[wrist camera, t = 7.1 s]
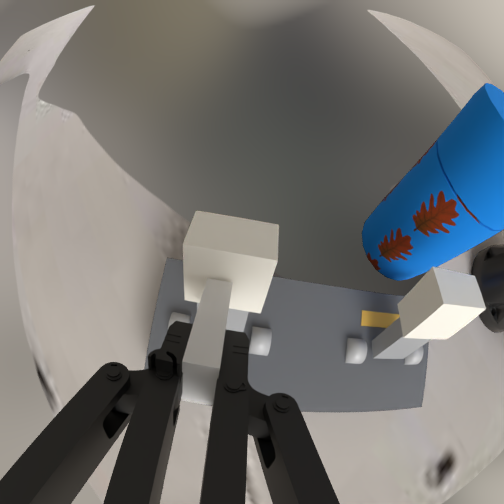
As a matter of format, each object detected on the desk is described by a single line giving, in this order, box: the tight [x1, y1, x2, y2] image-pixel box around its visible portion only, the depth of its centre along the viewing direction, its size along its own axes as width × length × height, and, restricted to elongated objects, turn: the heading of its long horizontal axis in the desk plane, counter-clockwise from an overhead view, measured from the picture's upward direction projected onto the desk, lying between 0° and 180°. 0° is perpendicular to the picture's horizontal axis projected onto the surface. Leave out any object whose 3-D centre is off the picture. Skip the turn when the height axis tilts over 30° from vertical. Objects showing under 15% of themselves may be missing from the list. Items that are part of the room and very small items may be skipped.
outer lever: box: [183, 211, 279, 332], centre depth 19 cm, size 5×3×11 cm, turn 81°
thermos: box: [362, 83, 504, 281], centre depth 24 cm, size 11×11×25 cm
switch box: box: [144, 258, 429, 412], centre depth 26 cm, size 28×12×7 cm, turn 81°
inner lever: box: [372, 267, 486, 359], centre depth 20 cm, size 5×3×11 cm, turn 81°
